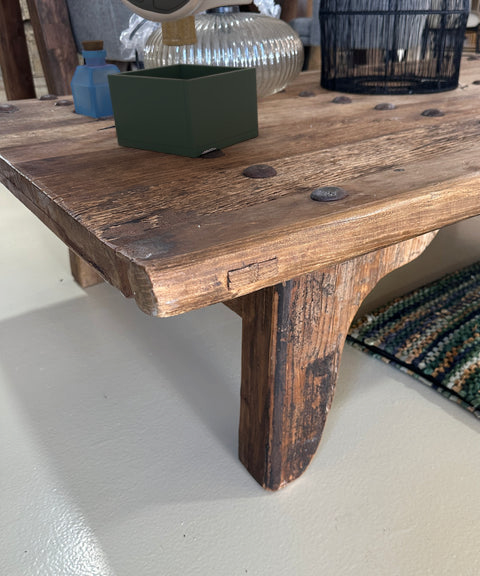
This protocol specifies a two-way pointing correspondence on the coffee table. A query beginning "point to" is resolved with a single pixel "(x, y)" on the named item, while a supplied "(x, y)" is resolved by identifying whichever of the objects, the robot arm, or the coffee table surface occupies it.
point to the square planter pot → (184, 107)
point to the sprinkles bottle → (179, 32)
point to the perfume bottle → (93, 82)
